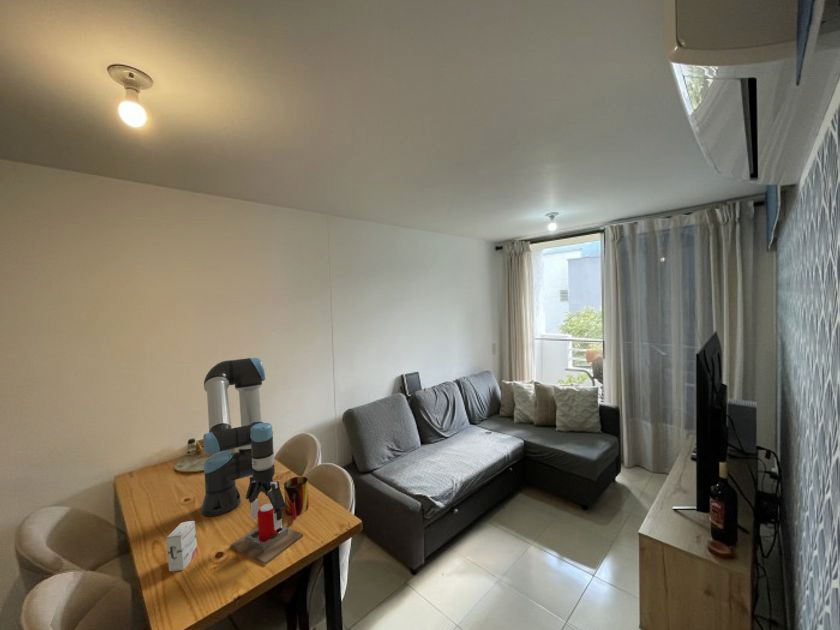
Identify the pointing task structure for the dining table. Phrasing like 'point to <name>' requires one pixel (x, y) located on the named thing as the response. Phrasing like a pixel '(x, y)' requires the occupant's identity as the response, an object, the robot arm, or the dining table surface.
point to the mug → (296, 496)
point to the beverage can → (266, 522)
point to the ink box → (181, 546)
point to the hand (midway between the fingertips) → (266, 522)
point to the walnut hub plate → (271, 552)
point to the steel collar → (264, 546)
